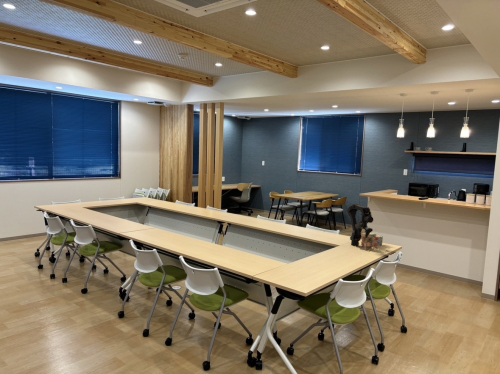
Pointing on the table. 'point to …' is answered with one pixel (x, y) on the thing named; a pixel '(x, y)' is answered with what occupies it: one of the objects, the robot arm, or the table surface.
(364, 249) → the dock
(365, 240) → the open wooden box
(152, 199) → the table surface
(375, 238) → the stack of blocks
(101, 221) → the table surface
